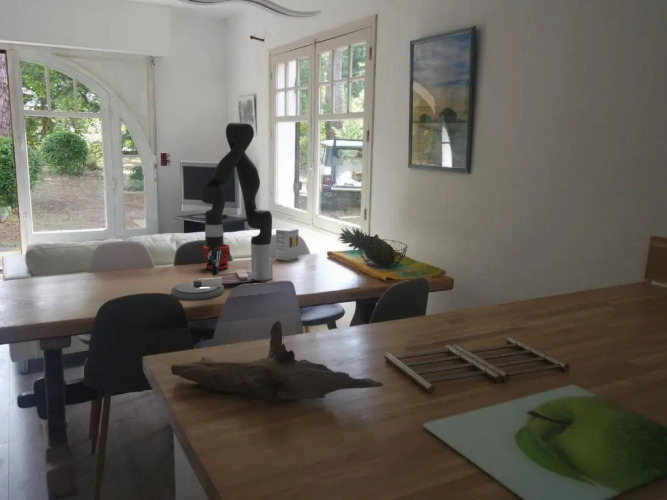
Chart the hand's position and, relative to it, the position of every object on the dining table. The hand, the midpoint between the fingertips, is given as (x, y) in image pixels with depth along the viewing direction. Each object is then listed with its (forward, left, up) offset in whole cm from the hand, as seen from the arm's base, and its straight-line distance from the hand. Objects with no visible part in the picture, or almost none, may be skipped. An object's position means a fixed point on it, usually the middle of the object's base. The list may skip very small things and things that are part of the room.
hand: (215, 274), depth 244 cm
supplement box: (-73, -31, -9) cm, 80 cm away
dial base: (+4, -8, -9) cm, 12 cm away
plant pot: (-32, -41, -9) cm, 53 cm away
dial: (+3, -7, -7) cm, 10 cm away
